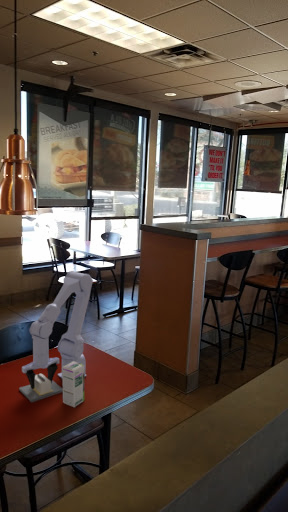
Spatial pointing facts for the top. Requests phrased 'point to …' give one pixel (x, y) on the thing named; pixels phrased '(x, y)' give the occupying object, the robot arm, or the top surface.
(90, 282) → the robot arm
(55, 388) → the board
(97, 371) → the top surface
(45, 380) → the block
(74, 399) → the syrup box
